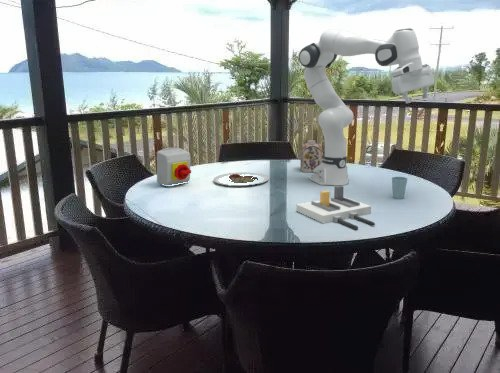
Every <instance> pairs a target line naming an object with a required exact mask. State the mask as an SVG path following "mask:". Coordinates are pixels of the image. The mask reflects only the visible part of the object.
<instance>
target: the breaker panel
mask: <svg viewBox="0 0 500 373" xmlns="http://www.w3.org/2000/svg"><path fill="white" fill-rule="evenodd" d="M295 209H296V212H297V211H298V212H297V213H299V212H300V213H299V214H301V213H302V214H301V215H303V214H304V216H306V215H307V216H306V217H308V216H309V217H308V218H310V217H311V219H312V218H313V220H314V219H315V220H314V221H317V222H319V223H321V224H327V223H331V222H332V223H333V222H334V221H333V216H338V215H339V216H341V217H342V220H345V219H350V218H349V216H350V213H352V212H356V213H358V216H359V217H362V216H363V215H370V214H372V206H371V205H369V204H366V203H363V202H361V201H357V200H355V199H352V198H348V197H345V196H343V200H342V201H340V200H337V199H334V197H330V204H329V206H327V207H326V206H324V205H321V204H320V199H319V200H312V201H308V202H307V201H306V202H302V203H297V204H296V208H295Z"/></svg>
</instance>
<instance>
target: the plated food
mask: <svg viewBox="0 0 500 373" xmlns="http://www.w3.org/2000/svg"><path fill="white" fill-rule="evenodd" d="M242 174H244V175H245V174H250V175H258V176H261V177H263V178H264V180H263V181H262V182H259V183H256V184H257V185H259V184H263V183H265V182H268V180H269V178H270V177H269V176H267V175H266V174H263V173H257V172H231V173H224V174H220V175H217V176H214V178H213V182H214V183H216V184H219V185H223V186H227V185H228V184H223V183H220V182H219V181H218V180H219V178H222V177H224V176H228V175H230V176H229V178H230V179H231V180H232V181H231V182H234V183H247V182H253V181H254V180H255V179H257V180H258V178H257V177H253V176H244V177H243V176H240V175H242ZM252 177H253V178H252ZM251 178H252V179H251ZM253 179H254V180H253ZM229 181H230V180H229ZM249 185H252V186H256V185H255V184H249ZM230 187H248V186H247V185H231V186H230Z"/></svg>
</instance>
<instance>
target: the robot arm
mask: <svg viewBox="0 0 500 373" xmlns="http://www.w3.org/2000/svg"><path fill="white" fill-rule="evenodd" d="M319 37H320V38H319V40H318V42H317V43H315V42H312V43H310V44H308V45H306V46H304V47H303V48H302V49H300V51H299V54H298V61H299V63H300V65H301V66H302V67H303V68H305V69H304V71H303V77H304V80H305V83H306V86H307V88H308V90H309V92H310V94H311V96H312V98H313V100H314V103H315V104H316V105H317V106H319V107H320V108H321V109H322V110H323V111H322V112H320V114H318V119H317V122H318V125H319V127H320V128H321V130H322V135H323V138H324V139H323V140H324V155H322V158H321V159H322V163H321V164H320V165H319V166H317V167H316V168H315V169H314V172H313V175H311V176H309V177H308V180H310V181H312V182H314V183H316V184H318V185H320V186H344V185H347V184H349V181H350V179H349V174H348V173H349V171H348V166H347V163H348V155H347V146H348V145H347V144H348V143H347V139H346V138H345V134H344V128H347V127H349V126H350V125H351V124H352V122H353V121H354V118H355V117H354V112H353V111H352V110H351V108H349V107H348V106H347V105H346V104H345V103H344V101H343V100H342V98H340V96H339V95H338V94H337V92H336V91H335V89H334V87H333V85H332V83H331V81H330V79H329V78H328V75H327V74H326V69H328V68H330V67H331V65H332V64H333V63H334V62H335V61H336V60H337V57H338V56H342V57H354V56H359V55H366V54H367V55H370V54H371V55H374V58H375V61H376V63H377V65H379V66H380V67H390V66H395V65H398V66H397V67H396V68H395V69H393V70H392V71H390V77H391V87H392V93H393V94H394V95H401V96H402V98H403V99H404V101H405V104H410V103H412V98H410V97H409V96H408V95H409V92H412V91H415V90H419V89H421V90H422V91H423V92H422V93H423V94H421V98H422V99H428V98H429V94H428V93H429V90H430V86H434V85H435V82H436V81H435V77H434V73H433V70H432V69H431V66H430V65H429V64H427V63H425V64H422V63H423V62H422V58H421V55H420V53H419V52H420V51H419V41H418V37H417V34H416V32H415V30H414V29H412V28H411V27H409V28H401V29H397V30H395V31H393V33H392V35H391V36H390V37H389V38H388V39H387V40H386V41H385V40H380V39H375V38H370V37H367V36H363V35H359V34H357V33H354V32H351V31H347V30H342V29H333V28H332V29H326V30H324V31H323V32H322V33H321V35H320V36H319Z"/></svg>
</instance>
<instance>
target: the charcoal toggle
mask: <svg viewBox="0 0 500 373" xmlns="http://www.w3.org/2000/svg"><path fill="white" fill-rule="evenodd" d="M333 190H334V192H333V195H334V196H333V198H334V199H337V200H340V201H342V200H343V197H344V185H334V189H333Z"/></svg>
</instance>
